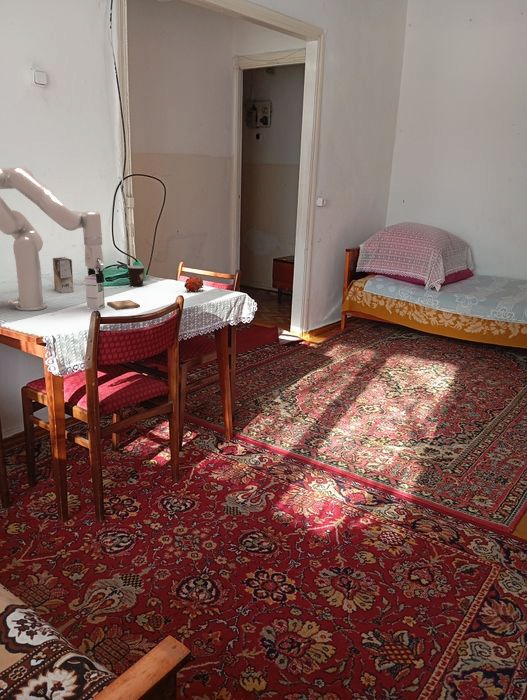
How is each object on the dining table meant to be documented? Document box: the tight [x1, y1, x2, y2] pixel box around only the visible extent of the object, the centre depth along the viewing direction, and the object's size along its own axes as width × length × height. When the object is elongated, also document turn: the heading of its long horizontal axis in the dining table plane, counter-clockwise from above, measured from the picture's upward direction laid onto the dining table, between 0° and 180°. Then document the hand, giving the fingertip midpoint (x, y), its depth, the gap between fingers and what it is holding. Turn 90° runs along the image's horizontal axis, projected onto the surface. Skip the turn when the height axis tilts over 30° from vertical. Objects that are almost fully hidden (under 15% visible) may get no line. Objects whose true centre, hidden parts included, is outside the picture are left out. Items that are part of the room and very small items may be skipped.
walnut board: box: [106, 299, 141, 311], centre depth 257 cm, size 11×11×1 cm
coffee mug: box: [125, 265, 145, 288], centre depth 300 cm, size 12×9×10 cm
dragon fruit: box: [183, 275, 204, 292], centre depth 295 cm, size 8×8×12 cm
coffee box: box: [52, 256, 74, 294], centre depth 281 cm, size 9×6×16 cm
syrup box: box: [84, 273, 106, 310], centre depth 250 cm, size 6×6×14 cm
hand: (96, 281), depth 249 cm, fingers open, 9 cm apart
